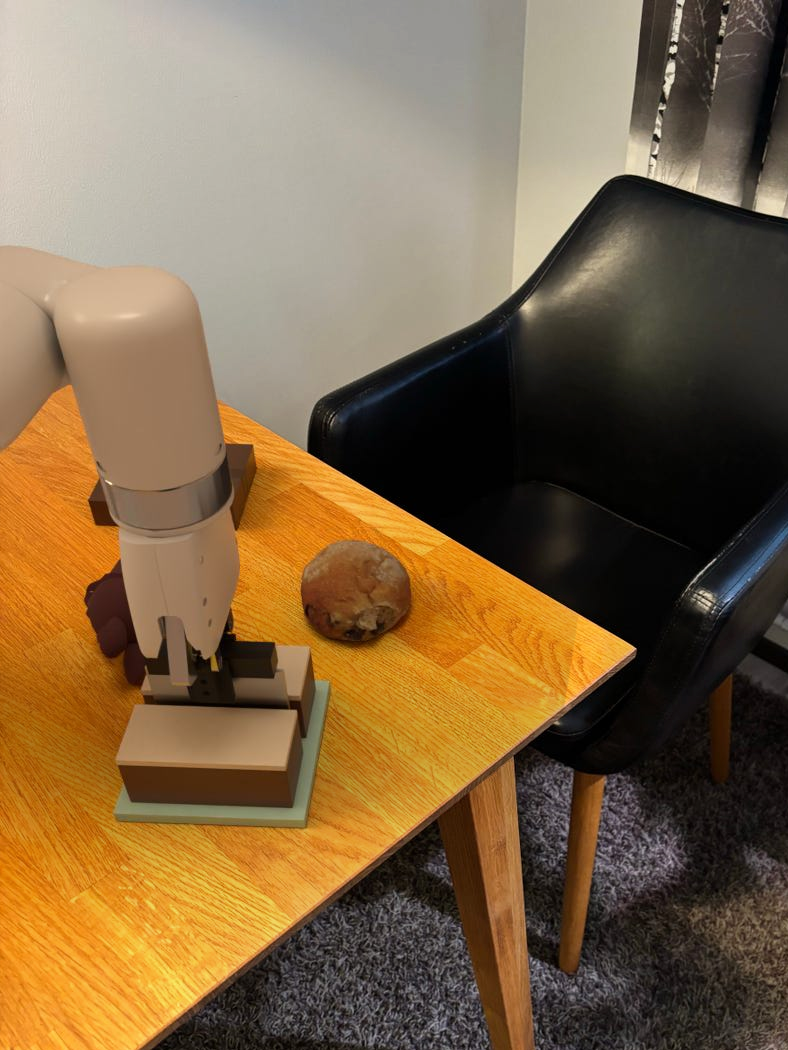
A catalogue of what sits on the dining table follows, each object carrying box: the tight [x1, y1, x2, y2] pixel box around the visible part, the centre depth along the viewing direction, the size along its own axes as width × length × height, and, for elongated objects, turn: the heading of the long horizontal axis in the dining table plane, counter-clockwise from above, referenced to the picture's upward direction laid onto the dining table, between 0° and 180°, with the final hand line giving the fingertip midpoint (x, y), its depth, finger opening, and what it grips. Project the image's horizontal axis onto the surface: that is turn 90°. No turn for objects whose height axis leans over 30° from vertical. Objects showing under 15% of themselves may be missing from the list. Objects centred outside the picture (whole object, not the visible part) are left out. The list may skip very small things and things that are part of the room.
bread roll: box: [300, 539, 412, 642], centre depth 90 cm, size 10×10×8 cm
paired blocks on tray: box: [112, 644, 332, 829], centre depth 77 cm, size 14×14×6 cm
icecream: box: [83, 557, 146, 687], centre depth 86 cm, size 7×7×15 cm
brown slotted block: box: [87, 442, 258, 531], centre depth 101 cm, size 14×11×3 cm
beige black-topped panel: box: [143, 637, 291, 710], centre depth 74 cm, size 10×2×10 cm, turn 88°
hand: (217, 685), depth 74 cm, fingers closed on beige black-topped panel, 1 cm apart
